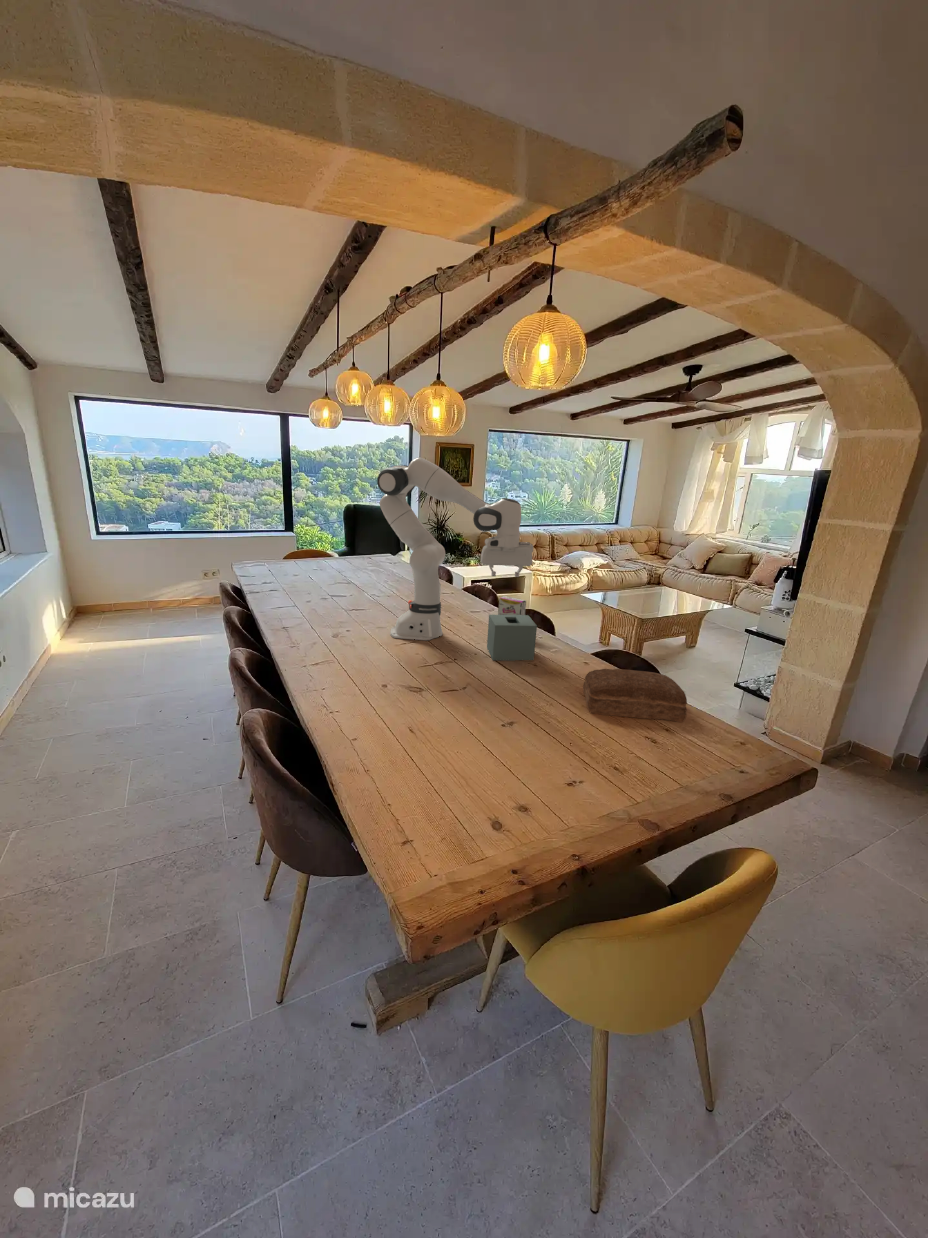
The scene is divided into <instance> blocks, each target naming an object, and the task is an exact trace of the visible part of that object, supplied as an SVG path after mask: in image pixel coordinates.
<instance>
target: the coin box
mask: <svg viewBox="0 0 928 1238" xmlns="http://www.w3.org/2000/svg"><path fill="white" fill-rule="evenodd" d="M508 622H512V623H508ZM487 627H488V628H487V641H486V649H487V651H488V650H489V651H488V653H489V655H491V656H490V658H491V660H492V661H515V660H535V649H536V643H537V642H536V640H537V632H538V631H537V629H538V625H537V624H536V623H535V622H534V621H533V620H532V618H531V617H530V616H529V615H528V614H527V615H526V614H525V615H498V614H488V626H487Z"/></svg>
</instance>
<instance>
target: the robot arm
mask: <svg viewBox="0 0 928 1238" xmlns="http://www.w3.org/2000/svg"><path fill="white" fill-rule="evenodd" d="M376 485H377V487H378V489H379V491H380V492H382V493H383V494H384V495H383V496H382V497H381V498H380V500H379V508H380V509H381V511H382V514H383V516H384V518H385V519H386V521H387V523H388V525H390V527H391V529H392V530H393V531H394V533H395V535H396V536H397V537H398V539H399V540H400V541H401V542H402V543H404V545H406V546H407V547H408V548H409V549H410V550H411V551H412V552H411V554H410V555H409V565H410V567H411V570H412V571H411V572H412V577H413V584H414V585H413V586H414V587H413V589H414V592H413V595H414V596H413V600H412V599H410V600H408V602H407V604H408V610H406V611H405V612H404V613H403V614H400V616H398V617H397V619H396V623H395V626H393V627H391V629H390V634H389V635H390V636H391V638H394V639H400V640H401V639H402V640H414V639H415V641H418V640H419V641H431V640H433V639H435V638H436V639H437V638H439V636H440V637H441V636H443V629H442V623H441V613H442V602H441V588H442V587H441V582H440V578H439V577H440V576H439V566H440V565H442V564H443V563H444V561H445V558H446V550H445V547H444V546H443V545H442V544H441V543H439V541H437V539H436V538H435V537H434V536H433V534H431V532H429V531H428V529H426V527H425V526H424V525H423V523H422V522H421V521H420V519H419V518H418V516H417V514H416V513H415V512H414V510H413V508H412V507H411V506H410V505H409V503H408V501H407V497H409V496H410V495H411V493H412V492H413V491H414V489H415V488H416V487H417V488H419V489H420V490H422V491H423V492H424V493H426V494H427V495H428V496H431V497H432V498H434V499H436V500H438V501H440V502H448V503H449V502H450V503H455V504H457V505H460V506H461V507H463V508H464V509H466V510H467V511H469V512H470V513H472V514H473V519H472V521H473V523H474V526H475V527H476V528H477V530H479V531H482V532H491V531H496V535H495V536H492V537H488V538H485V539H484V546H483V547H482V549H481V550H482V551H481V554H480V563H481V564H482V565H483V566H484V565H485V566H488V567H489V569H490V571H491V577H496V576H497V571H495V570H494V569H493V568H494V566H509V567H510V566H512V567H513V566H516V567H517V568H518V570H517V571H514V577H515V578H520V573H521V572H522V571H523V569H524V568H523V567H530V566H532V564H533V553H534V545H533V544H532V543H531V542H529V541H526V542H525V541H520V535H521V533H520V528H521V527H520V526H521V523H522V507H521V504H520V502H519V501H518V500H516V499H512V498H507V497H502V498H501V499H500V500H498V501H496V502H493V503H488V502H487V501H486V502H485V501H484V500H482V499H480V498H479V497H478V496H477V495H475V494H474V493H472V492H470V491H469V490H467V489H466V488H465V487H463V485H462V484H461V483H459V482H458V481H457V480H456V479H454V478H453V476H452V475H450V474H449V473H448V472H446V470H444V469H443V468H441V467H440V466H438V465H437V464H436V463H433V462H431V461H430V460H428V459H426V458H423V457H416V458H414V459H412V460H411V461H410V463H409V464H408V465H406V464H405V465H403V464H402V465H392V466H391V467H386V468H384V469H382V470H381V471H380V472H379V474H378V475H377V480H376Z"/></svg>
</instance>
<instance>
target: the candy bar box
mask: <svg viewBox="0 0 928 1238" xmlns="http://www.w3.org/2000/svg"><path fill="white" fill-rule="evenodd" d="M526 607H527V600H526V599H521V598H516V597H511V596H506V595H503V596H501V597H499V599H498V611H497V615H526Z"/></svg>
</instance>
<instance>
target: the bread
mask: <svg viewBox="0 0 928 1238" xmlns="http://www.w3.org/2000/svg"><path fill="white" fill-rule="evenodd" d="M582 687H583V688H582V690H583V691H582V692H583V694H584V697H585V701H586V708H587V710H588V711H589V713H590V714H595V715H604V716H613V717H615V716H616V717H626V718H640V719H652V720H653V719H654V720H662V719H663V721H665V720H666V721H672V722H677V723H683V722H684V721H685V720H686V717H687V703H688V701H687V695H686V693H685V691H684V690H683V689H682V688H681V687H680V685H679V684H678V683H677V682H676V681H675V680H674V679H672V678H671V677H669V676H667V675H666V674H665V675H664V674H663V673H657V672H652V671H644V670H633V669H622V668H614V669H612V668H601V669H594V670H591V671H589V672H587V674H586V675H585V677H584V682H583V686H582Z"/></svg>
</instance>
